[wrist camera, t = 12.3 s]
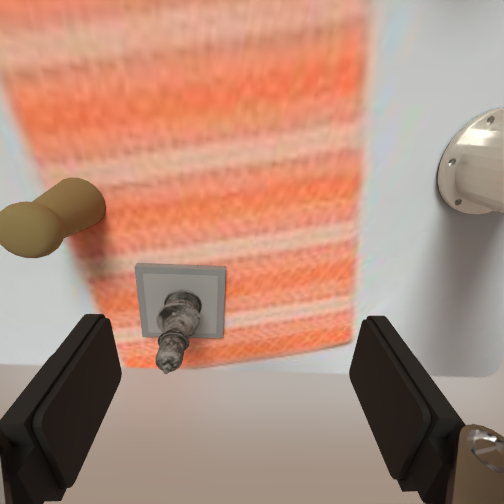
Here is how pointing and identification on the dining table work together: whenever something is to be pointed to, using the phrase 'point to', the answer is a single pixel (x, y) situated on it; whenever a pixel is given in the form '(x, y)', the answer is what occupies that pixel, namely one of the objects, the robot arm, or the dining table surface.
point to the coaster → (186, 278)
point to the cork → (50, 218)
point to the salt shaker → (177, 327)
